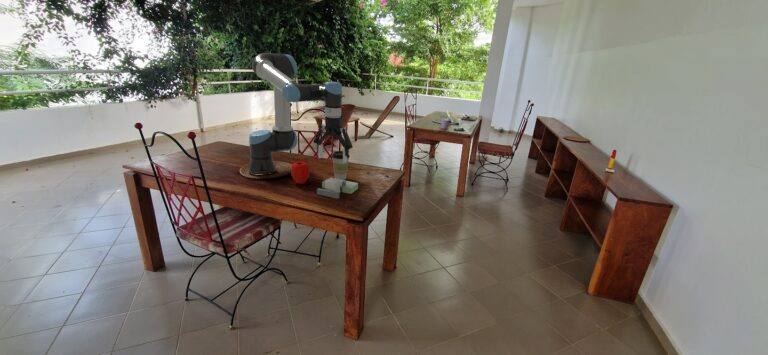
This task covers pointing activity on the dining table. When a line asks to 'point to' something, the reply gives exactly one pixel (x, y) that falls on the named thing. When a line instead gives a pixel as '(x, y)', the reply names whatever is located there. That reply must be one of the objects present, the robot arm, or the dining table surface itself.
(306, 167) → the apple
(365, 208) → the dining table surface
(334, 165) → the coffee cup
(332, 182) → the gray rectangular prism
